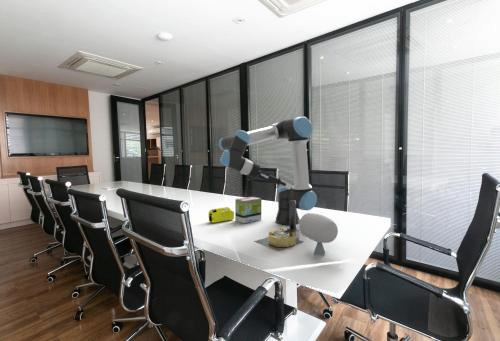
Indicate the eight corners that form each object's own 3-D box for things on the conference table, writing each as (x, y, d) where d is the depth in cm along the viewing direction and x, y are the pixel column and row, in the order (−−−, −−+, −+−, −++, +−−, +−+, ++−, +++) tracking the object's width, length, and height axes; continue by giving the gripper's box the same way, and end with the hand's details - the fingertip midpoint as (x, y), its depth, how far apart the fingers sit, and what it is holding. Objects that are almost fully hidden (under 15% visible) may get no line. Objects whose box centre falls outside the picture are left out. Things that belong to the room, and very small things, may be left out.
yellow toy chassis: (230, 218, 175) (229, 206, 174) (234, 220, 170) (233, 208, 169) (208, 222, 166) (208, 209, 165) (212, 224, 161) (211, 211, 161)
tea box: (244, 224, 160) (244, 200, 159) (235, 221, 168) (234, 198, 167) (262, 219, 170) (261, 197, 169) (252, 217, 178) (251, 196, 177)
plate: (253, 243, 125) (253, 231, 125) (279, 235, 137) (279, 224, 136) (278, 253, 112) (278, 240, 112) (304, 243, 124) (304, 231, 123)
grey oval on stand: (327, 244, 122) (327, 208, 120) (341, 262, 102) (341, 219, 101) (295, 245, 122) (295, 209, 121) (303, 262, 102) (303, 220, 101)
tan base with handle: (282, 248, 114) (282, 206, 113) (263, 241, 123) (263, 202, 122) (305, 240, 124) (305, 201, 123) (285, 234, 134) (285, 198, 133)
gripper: (244, 173, 134) (283, 190, 139) (249, 177, 121) (291, 196, 126) (250, 160, 133) (289, 178, 138) (255, 163, 120) (298, 182, 126)
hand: (290, 187), depth 132 cm, fingers closed
